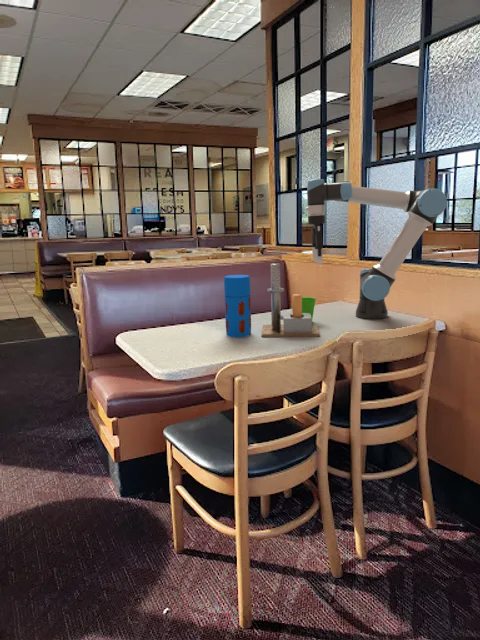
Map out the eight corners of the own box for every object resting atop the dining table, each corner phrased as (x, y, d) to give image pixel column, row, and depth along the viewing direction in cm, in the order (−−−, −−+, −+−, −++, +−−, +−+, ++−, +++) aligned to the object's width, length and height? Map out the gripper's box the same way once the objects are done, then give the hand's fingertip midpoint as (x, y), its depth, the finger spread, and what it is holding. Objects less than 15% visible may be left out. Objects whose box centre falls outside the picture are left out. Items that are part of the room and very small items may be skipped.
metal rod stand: (316, 326, 218) (316, 261, 212) (319, 336, 201) (319, 265, 195) (263, 327, 220) (261, 262, 214) (261, 337, 203) (260, 267, 197)
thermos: (254, 332, 212) (253, 274, 207) (246, 338, 202) (245, 278, 197) (231, 331, 215) (229, 274, 210) (222, 336, 205) (220, 277, 200)
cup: (315, 319, 233) (315, 296, 231) (316, 323, 224) (316, 300, 222) (296, 319, 234) (296, 297, 232) (297, 323, 225) (296, 300, 223)
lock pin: (301, 328, 211) (301, 294, 208) (302, 330, 207) (302, 295, 204) (292, 328, 211) (292, 294, 208) (292, 330, 207) (292, 295, 204)
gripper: (305, 215, 231) (306, 260, 236) (311, 215, 207) (312, 265, 211) (320, 214, 231) (321, 259, 235) (329, 214, 207) (330, 264, 211)
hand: (317, 262), depth 223 cm, fingers open, 13 cm apart
